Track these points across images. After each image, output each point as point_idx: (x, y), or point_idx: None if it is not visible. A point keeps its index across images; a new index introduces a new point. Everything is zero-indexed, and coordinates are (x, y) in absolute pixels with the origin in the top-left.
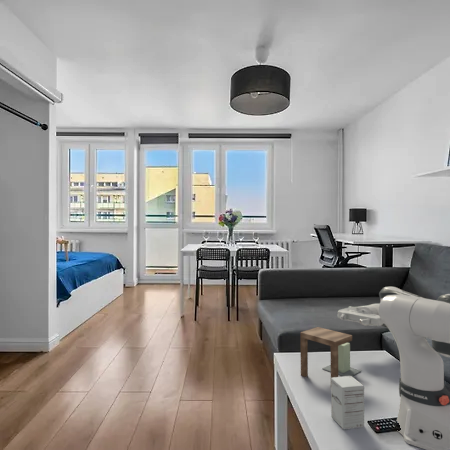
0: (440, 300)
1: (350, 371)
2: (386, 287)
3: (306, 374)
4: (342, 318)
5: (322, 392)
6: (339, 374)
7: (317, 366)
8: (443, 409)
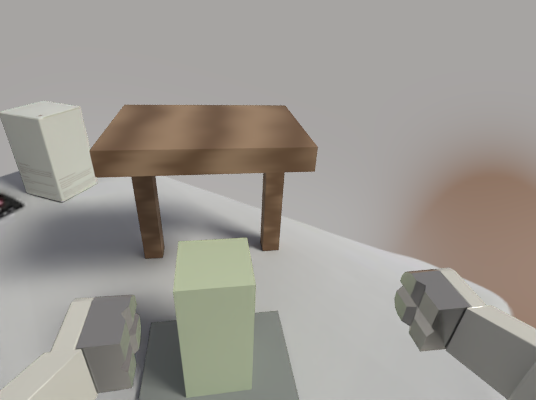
0: None
1: (173, 380)
2: None
3: (262, 242)
4: (403, 288)
5: (165, 221)
6: None
7: (312, 319)
8: None
